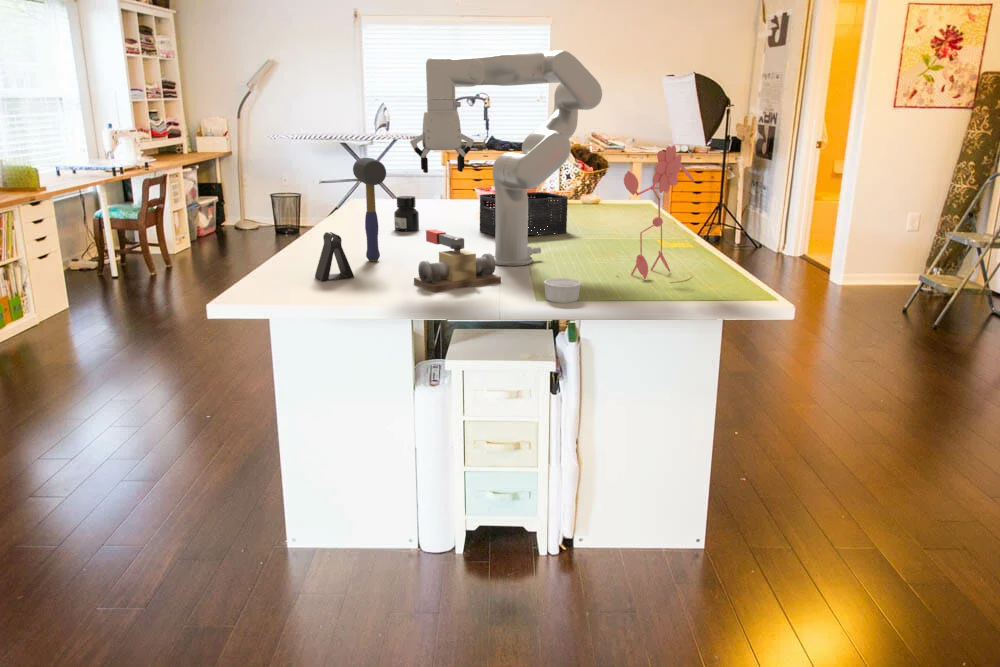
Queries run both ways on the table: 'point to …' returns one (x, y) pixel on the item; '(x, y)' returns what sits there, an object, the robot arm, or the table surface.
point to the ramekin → (562, 290)
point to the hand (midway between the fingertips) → (443, 171)
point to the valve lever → (444, 239)
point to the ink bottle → (406, 214)
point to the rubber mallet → (370, 200)
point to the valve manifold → (457, 271)
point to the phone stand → (326, 260)
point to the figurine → (665, 177)
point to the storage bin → (530, 213)
